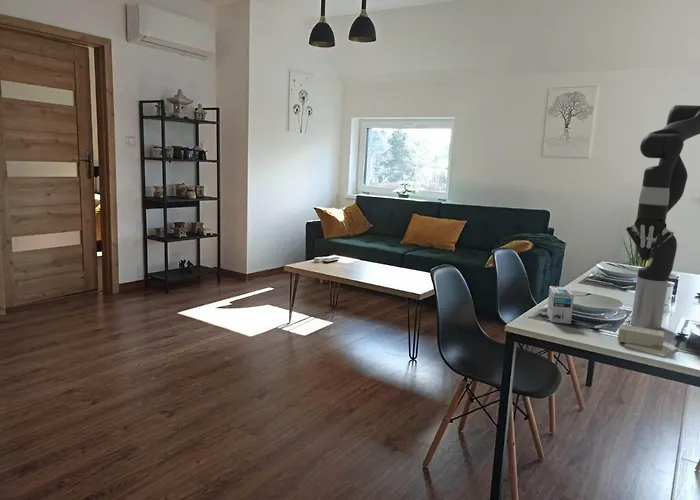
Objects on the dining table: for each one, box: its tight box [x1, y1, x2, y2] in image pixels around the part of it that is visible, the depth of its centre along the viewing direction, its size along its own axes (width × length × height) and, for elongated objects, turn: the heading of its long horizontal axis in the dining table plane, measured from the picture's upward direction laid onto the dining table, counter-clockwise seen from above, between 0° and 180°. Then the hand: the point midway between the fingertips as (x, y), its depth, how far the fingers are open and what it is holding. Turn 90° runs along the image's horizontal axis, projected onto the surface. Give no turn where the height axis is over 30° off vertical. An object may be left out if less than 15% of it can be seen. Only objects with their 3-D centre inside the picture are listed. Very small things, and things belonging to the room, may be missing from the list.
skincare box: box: [617, 323, 666, 350], centre depth 162 cm, size 6×4×12 cm
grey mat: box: [624, 343, 678, 358], centre depth 160 cm, size 11×11×1 cm
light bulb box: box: [546, 285, 575, 325], centre depth 185 cm, size 11×7×11 cm, turn 169°
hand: (645, 260), depth 157 cm, fingers closed
